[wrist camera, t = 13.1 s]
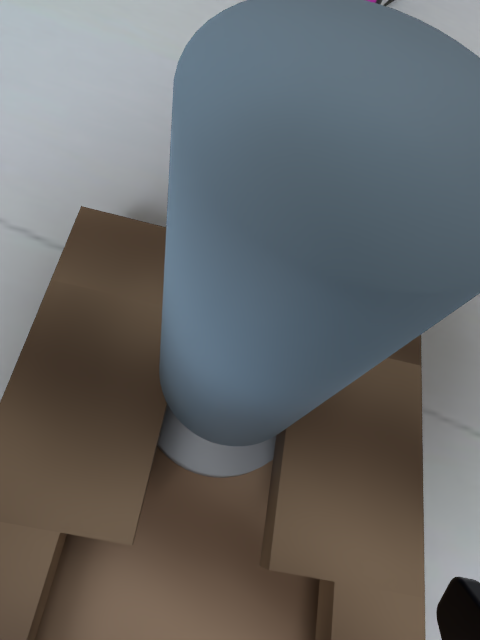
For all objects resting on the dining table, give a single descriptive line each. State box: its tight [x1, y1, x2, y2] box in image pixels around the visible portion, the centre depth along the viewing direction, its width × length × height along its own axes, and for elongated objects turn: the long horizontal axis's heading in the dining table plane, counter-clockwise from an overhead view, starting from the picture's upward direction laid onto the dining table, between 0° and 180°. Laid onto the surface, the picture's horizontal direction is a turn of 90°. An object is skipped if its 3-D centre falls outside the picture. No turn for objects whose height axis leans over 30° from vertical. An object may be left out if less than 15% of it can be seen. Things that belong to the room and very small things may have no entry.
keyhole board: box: [0, 206, 425, 640], centre depth 14 cm, size 20×13×4 cm, turn 170°
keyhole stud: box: [157, 0, 480, 478], centre depth 11 cm, size 6×6×13 cm
